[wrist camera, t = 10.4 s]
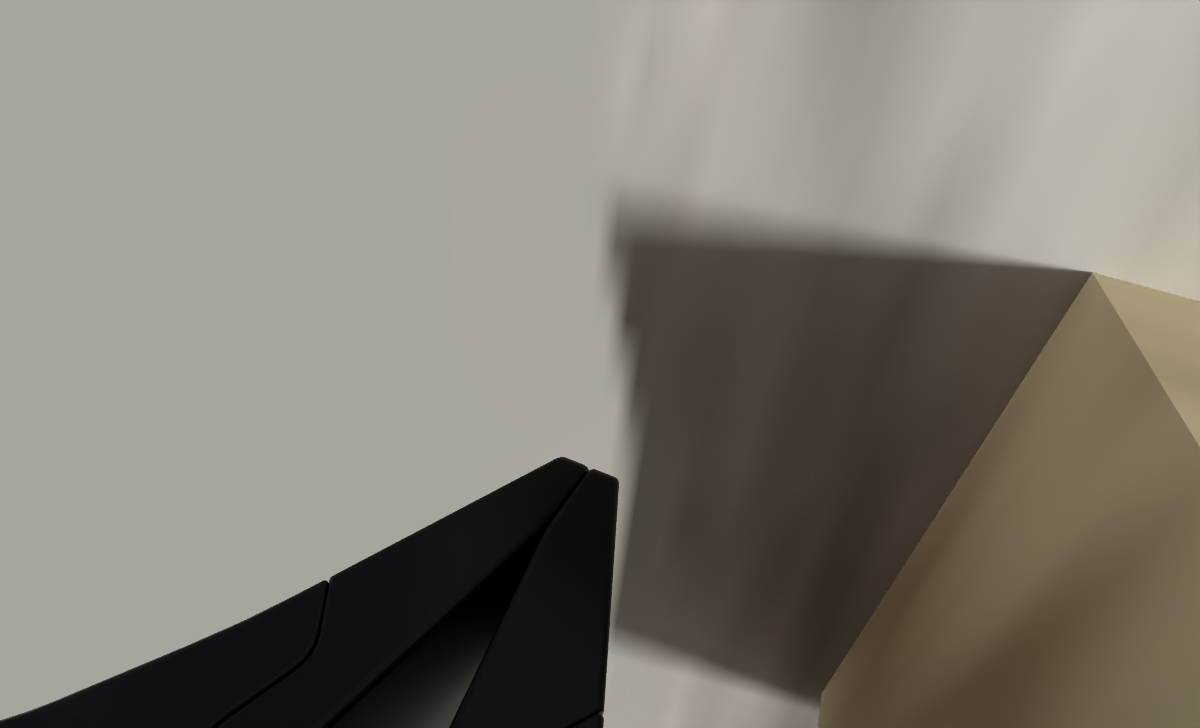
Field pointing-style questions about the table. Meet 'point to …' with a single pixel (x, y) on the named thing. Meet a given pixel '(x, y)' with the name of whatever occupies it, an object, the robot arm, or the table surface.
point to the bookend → (1058, 547)
